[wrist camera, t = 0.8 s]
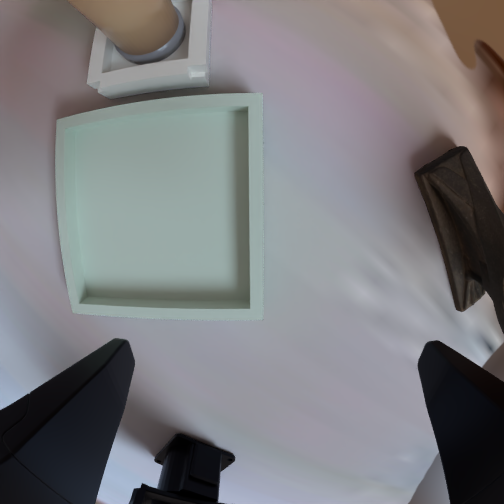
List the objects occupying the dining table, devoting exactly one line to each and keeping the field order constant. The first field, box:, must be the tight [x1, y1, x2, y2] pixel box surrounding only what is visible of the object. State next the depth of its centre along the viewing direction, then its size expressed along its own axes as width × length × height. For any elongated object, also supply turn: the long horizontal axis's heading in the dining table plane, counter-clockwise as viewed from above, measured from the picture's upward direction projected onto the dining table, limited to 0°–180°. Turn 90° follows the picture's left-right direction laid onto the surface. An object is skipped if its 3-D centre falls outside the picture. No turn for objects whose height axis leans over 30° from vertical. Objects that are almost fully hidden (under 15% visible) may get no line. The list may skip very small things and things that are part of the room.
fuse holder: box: [87, 0, 212, 99], centre depth 14 cm, size 7×7×3 cm
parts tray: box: [55, 93, 264, 320], centre depth 17 cm, size 14×14×2 cm
